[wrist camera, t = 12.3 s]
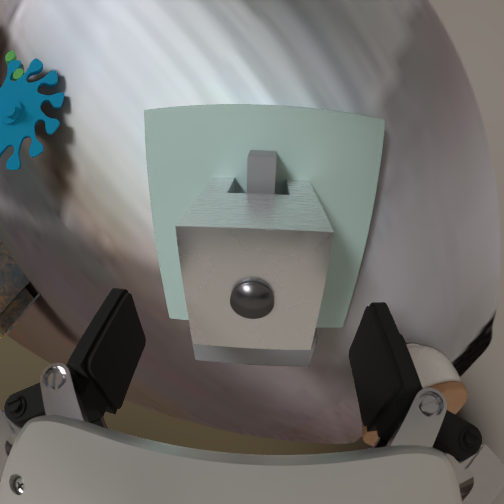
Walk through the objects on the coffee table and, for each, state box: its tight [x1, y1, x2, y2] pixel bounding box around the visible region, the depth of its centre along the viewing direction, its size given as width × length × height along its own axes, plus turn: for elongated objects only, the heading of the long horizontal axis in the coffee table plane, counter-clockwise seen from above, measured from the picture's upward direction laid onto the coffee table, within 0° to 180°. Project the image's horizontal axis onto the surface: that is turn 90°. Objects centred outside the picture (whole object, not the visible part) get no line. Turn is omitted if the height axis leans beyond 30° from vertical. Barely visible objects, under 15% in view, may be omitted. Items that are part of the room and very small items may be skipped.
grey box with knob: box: [175, 177, 334, 350], centre depth 16 cm, size 7×6×8 cm
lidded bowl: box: [361, 343, 468, 446], centre depth 24 cm, size 13×13×11 cm
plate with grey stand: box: [144, 104, 385, 366], centre depth 18 cm, size 18×16×8 cm
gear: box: [0, 51, 64, 170], centre depth 14 cm, size 11×6×10 cm
